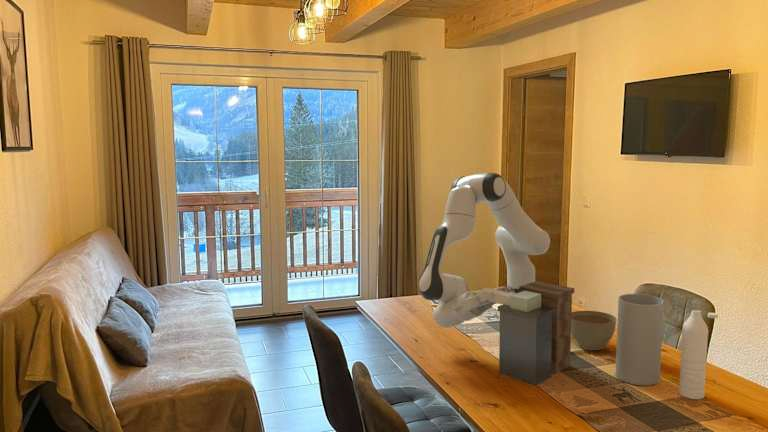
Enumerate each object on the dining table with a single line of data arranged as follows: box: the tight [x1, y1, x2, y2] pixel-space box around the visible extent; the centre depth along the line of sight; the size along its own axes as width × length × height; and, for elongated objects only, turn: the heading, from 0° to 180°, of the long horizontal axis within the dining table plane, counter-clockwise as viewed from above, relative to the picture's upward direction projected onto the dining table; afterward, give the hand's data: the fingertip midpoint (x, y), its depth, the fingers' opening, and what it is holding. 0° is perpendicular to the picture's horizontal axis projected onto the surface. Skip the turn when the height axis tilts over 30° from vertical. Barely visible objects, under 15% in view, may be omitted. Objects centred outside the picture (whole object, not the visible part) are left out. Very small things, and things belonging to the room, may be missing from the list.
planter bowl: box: [571, 310, 618, 351], centre depth 204 cm, size 16×16×11 cm
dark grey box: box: [497, 304, 555, 386], centre depth 180 cm, size 10×14×22 cm
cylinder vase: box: [615, 293, 664, 386], centre depth 176 cm, size 12×12×25 cm
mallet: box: [479, 287, 541, 312], centre depth 183 cm, size 8×19×4 cm, turn 44°
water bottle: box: [678, 309, 719, 400], centre depth 163 cm, size 9×6×25 cm
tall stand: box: [519, 280, 575, 375], centre depth 188 cm, size 10×14×26 cm
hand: (501, 291), depth 184 cm, fingers open, 8 cm apart
